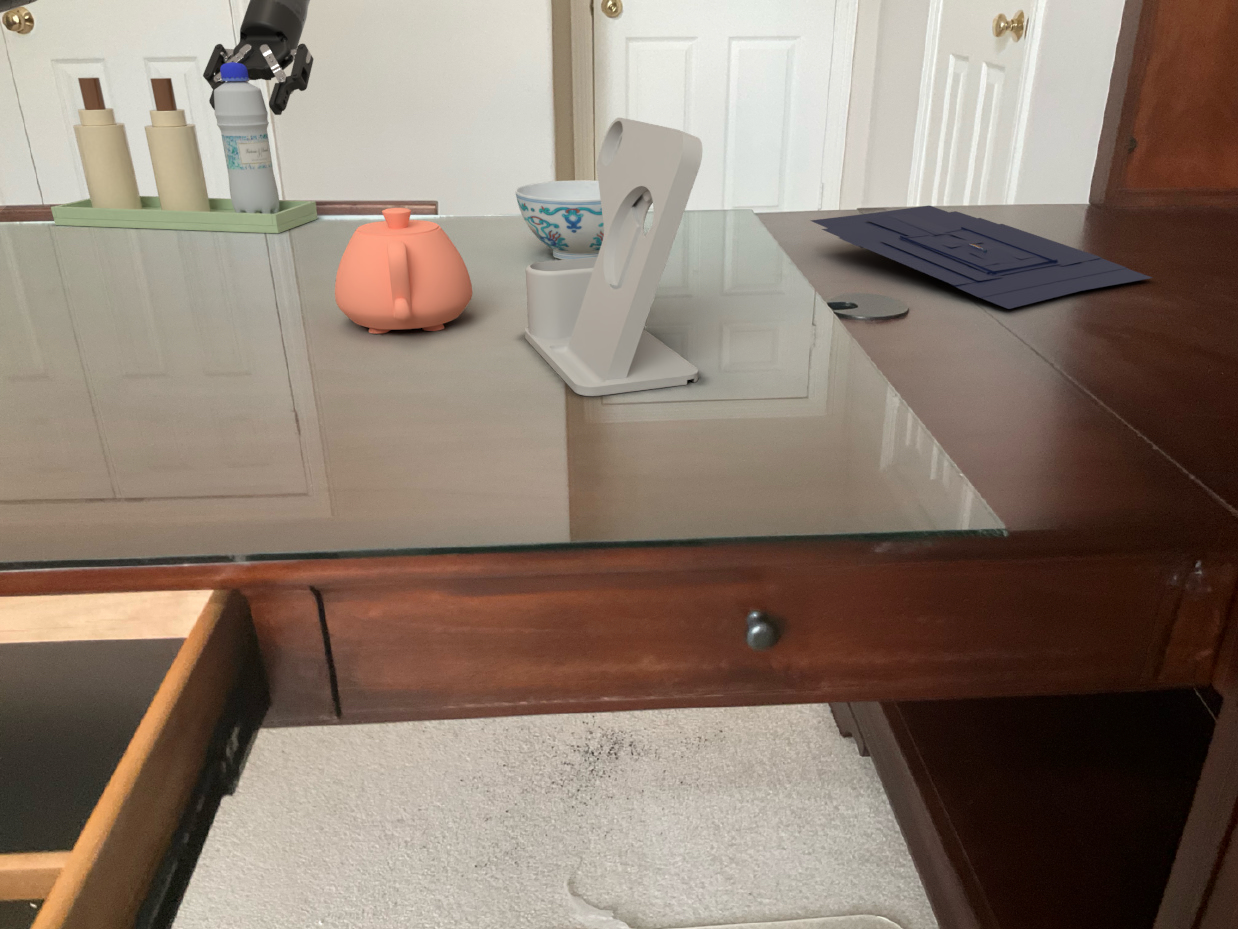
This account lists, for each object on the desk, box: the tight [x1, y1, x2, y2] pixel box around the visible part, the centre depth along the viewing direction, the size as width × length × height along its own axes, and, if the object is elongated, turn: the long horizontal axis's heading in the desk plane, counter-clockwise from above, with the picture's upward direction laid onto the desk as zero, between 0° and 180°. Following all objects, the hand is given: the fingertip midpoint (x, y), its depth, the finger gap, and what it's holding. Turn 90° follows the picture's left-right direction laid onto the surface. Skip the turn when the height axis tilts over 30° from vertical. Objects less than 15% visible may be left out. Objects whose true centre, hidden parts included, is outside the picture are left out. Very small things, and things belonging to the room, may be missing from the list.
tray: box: [50, 195, 319, 234], centre depth 132 cm, size 34×11×2 cm, turn 79°
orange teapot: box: [334, 207, 473, 335], centre depth 83 cm, size 12×14×10 cm
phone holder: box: [524, 117, 703, 397], centre depth 73 cm, size 17×10×18 cm, turn 20°
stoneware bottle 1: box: [72, 76, 143, 209], centre depth 130 cm, size 6×6×18 cm
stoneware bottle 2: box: [144, 77, 211, 212], centre depth 128 cm, size 6×6×18 cm
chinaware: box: [515, 179, 604, 260], centre depth 110 cm, size 15×15×8 cm
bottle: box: [214, 62, 280, 214], centre depth 126 cm, size 7×7×20 cm
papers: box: [809, 204, 1153, 310], centre depth 105 cm, size 24×30×4 cm
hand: (245, 110), depth 125 cm, fingers open, 8 cm apart
